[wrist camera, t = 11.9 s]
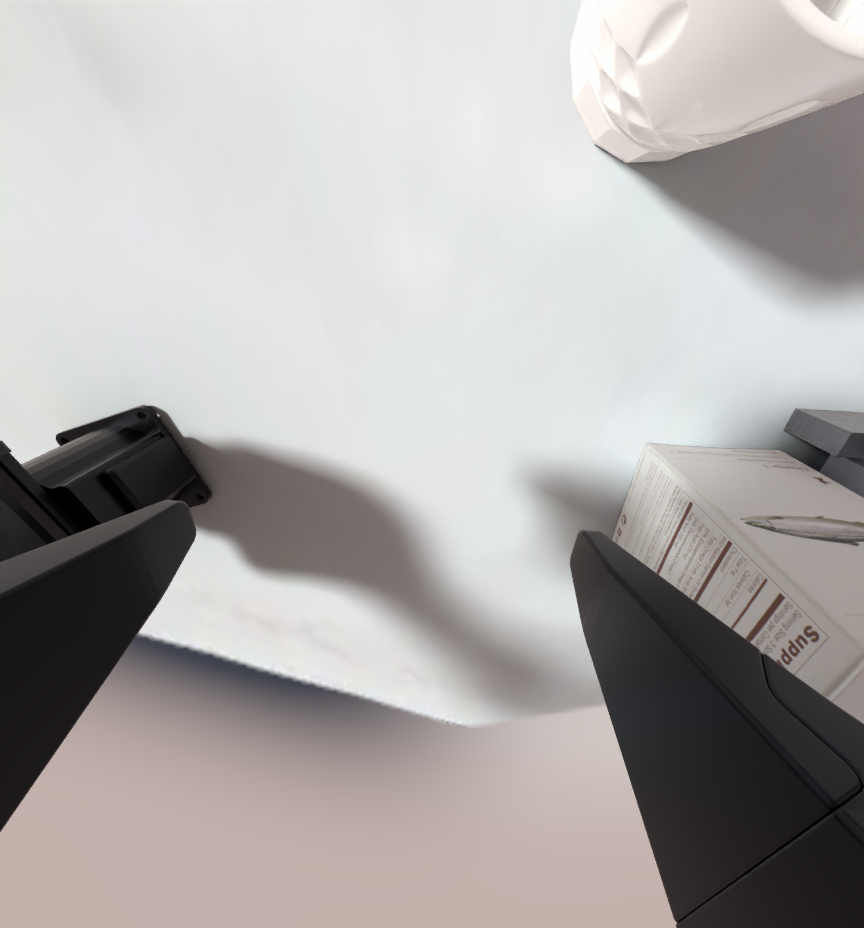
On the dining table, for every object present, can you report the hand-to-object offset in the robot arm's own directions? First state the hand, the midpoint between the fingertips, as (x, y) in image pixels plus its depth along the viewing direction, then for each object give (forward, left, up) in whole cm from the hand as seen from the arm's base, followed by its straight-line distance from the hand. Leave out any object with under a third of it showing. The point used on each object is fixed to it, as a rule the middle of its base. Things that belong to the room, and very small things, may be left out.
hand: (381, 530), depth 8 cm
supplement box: (+13, -11, -12) cm, 21 cm away
